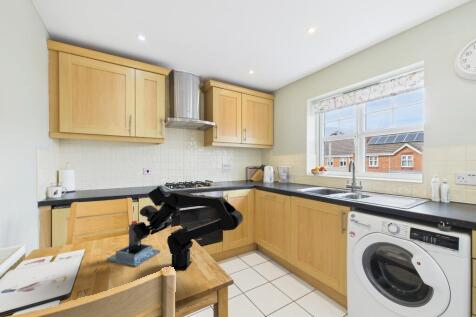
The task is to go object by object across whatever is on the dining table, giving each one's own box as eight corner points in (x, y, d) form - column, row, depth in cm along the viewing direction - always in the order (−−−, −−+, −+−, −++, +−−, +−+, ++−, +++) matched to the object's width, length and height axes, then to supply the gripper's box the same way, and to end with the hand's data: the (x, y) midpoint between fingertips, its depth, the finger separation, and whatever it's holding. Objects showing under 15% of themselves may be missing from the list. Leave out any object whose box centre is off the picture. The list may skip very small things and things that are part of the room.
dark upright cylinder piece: (146, 252, 94) (146, 220, 94) (134, 258, 88) (135, 224, 88) (135, 250, 96) (135, 218, 96) (123, 256, 90) (123, 222, 90)
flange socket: (160, 252, 96) (160, 244, 96) (136, 266, 83) (136, 258, 83) (133, 247, 101) (133, 240, 101) (106, 260, 88) (107, 252, 88)
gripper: (167, 196, 98) (148, 218, 101) (135, 204, 80) (114, 229, 84) (181, 214, 95) (161, 235, 99) (152, 226, 78) (129, 251, 81)
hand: (143, 237), depth 91 cm, fingers open, 9 cm apart
